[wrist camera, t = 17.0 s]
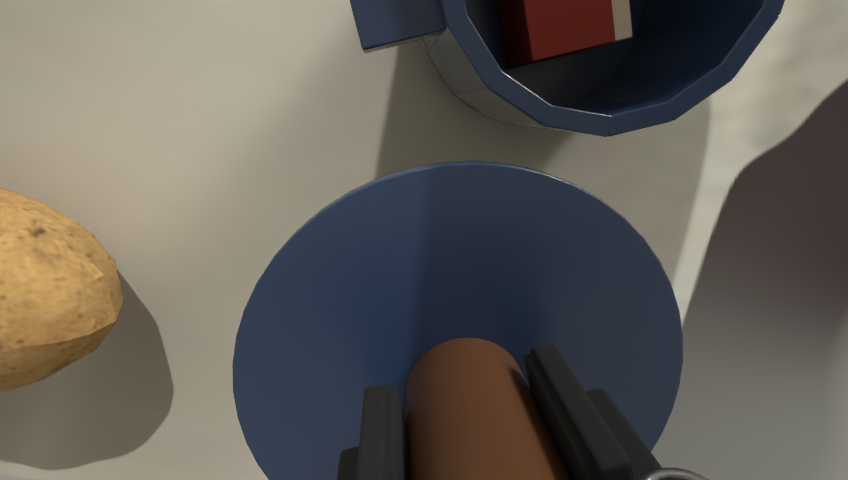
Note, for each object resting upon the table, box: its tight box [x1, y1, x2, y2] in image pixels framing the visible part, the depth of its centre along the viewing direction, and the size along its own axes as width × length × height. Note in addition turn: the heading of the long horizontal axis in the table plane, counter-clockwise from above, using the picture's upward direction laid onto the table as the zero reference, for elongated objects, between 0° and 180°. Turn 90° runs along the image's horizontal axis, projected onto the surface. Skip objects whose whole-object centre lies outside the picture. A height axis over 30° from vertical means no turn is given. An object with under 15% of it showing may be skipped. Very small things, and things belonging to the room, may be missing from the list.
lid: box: [233, 161, 683, 480], centre depth 10 cm, size 12×12×7 cm
